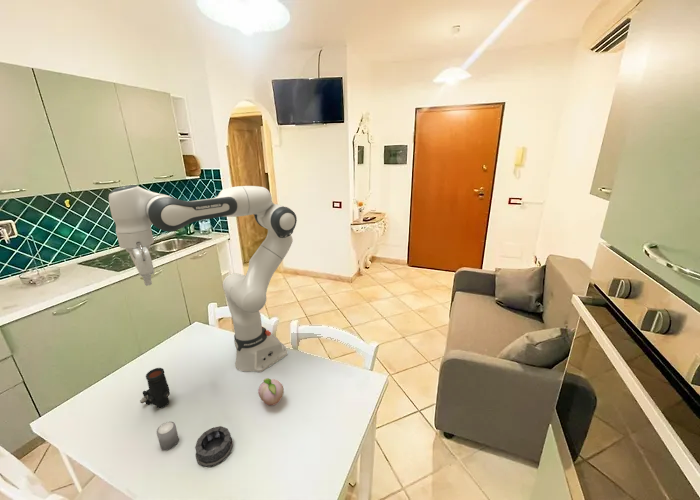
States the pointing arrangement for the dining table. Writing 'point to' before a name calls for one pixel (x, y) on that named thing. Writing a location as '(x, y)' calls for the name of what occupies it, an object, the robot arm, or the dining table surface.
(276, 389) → the decorative fruit
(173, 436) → the grey cylinder
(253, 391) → the dining table surface
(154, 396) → the scope
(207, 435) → the faceted grey ring
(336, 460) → the dining table surface
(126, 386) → the dining table surface
